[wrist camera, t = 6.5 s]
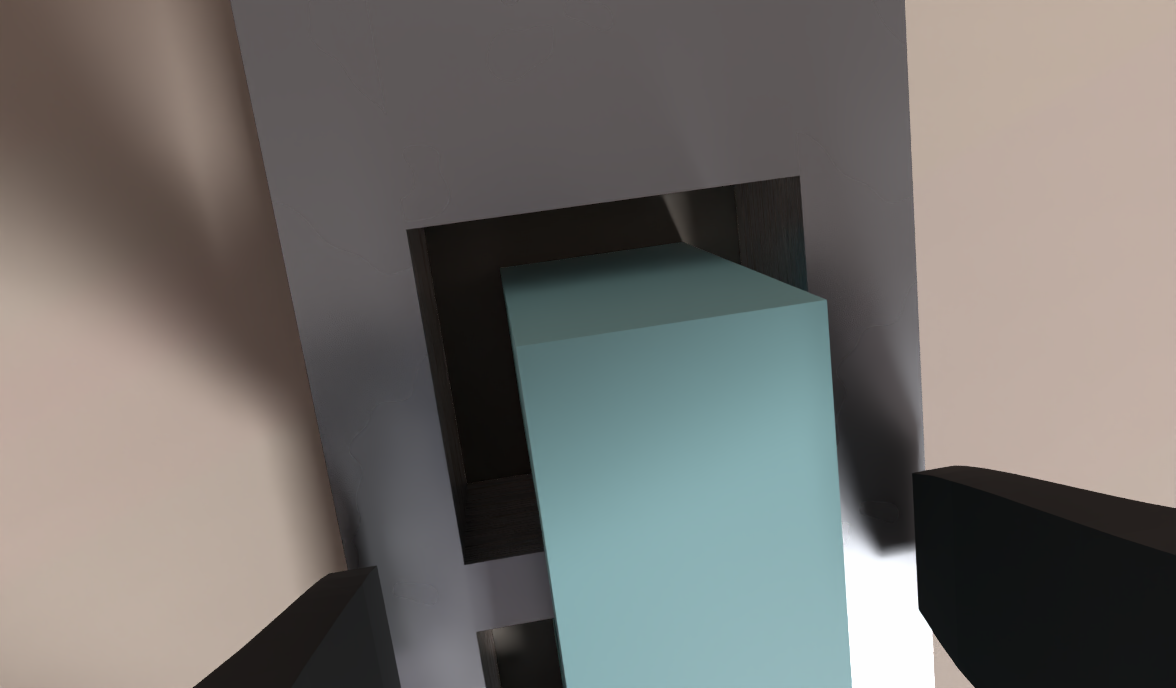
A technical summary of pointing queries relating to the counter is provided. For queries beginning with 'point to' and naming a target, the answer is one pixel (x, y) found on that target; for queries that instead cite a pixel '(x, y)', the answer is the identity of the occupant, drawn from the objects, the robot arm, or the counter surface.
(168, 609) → the counter surface
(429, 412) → the rail
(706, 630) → the bracket
